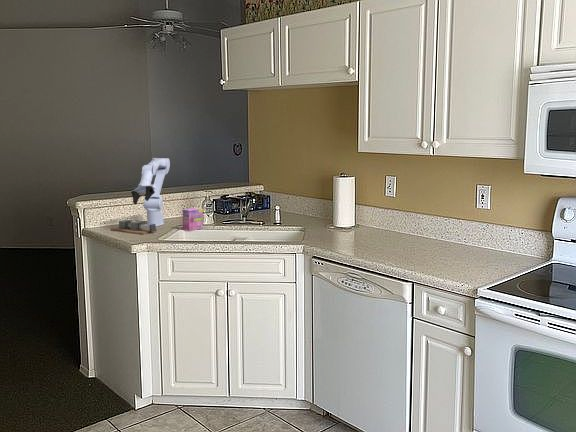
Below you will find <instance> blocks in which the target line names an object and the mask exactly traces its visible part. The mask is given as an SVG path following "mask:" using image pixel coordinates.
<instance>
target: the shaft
mask: <svg viewBox="0 0 576 432" xmlns="http://www.w3.org/2000/svg"><path fill="white" fill-rule="evenodd" d="M126 226H127V227H130V223H126ZM138 228H142V229H150V232H151V233H153V232H152V231H155V232H157V231H156V230H157V229H156V228H157V226H156V224H151V225H145V224H138Z"/></svg>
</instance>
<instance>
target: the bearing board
mask: <svg viewBox="0 0 576 432" xmlns="http://www.w3.org/2000/svg"><path fill="white" fill-rule="evenodd" d="M126 223H130V227H127V226H126ZM143 223H144V222H143V221H140V220H139V221H138V220H135V221H132V219H122V220H118V227H114V228H110V231H111V232H117V233H127V234H134V235H141V236H143V235H147V234H150V233H155V232H157V231H158V230H157V229H156V231H152V232H150V229H142V228H138V224H143ZM143 225H144V224H143Z"/></svg>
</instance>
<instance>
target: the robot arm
mask: <svg viewBox="0 0 576 432" xmlns="http://www.w3.org/2000/svg"><path fill="white" fill-rule="evenodd" d="M170 166H171V162H170V158H169V157H167V158H165V157H164V158H163V157H162V158H161V157H160V158H159V157H152V159H151V161H150V162H149V163H148V164H144V165H143V166H142V168H141V178H140V182H139V183H138V186H137V187H136V188H134V189H133V190H131V193H130V194H131V196H132V203H133V204H134V205H137V203H138V202H139V200H140V198H141V194H145V195H144V200H143V208H144V209H145V211H146V223H144V225H151V224H156V227H159V226H164V225H165V222H164V212H163V210H162V208H163V202H164V199H163V197H162V195H160V194H161V191H162V187H163V184H164V180H165V177H166V175H168V173H169V172H170ZM154 176H155V178H154V182H153V184H152V181H153V177H154Z"/></svg>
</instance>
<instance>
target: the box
mask: <svg viewBox="0 0 576 432" xmlns="http://www.w3.org/2000/svg"><path fill="white" fill-rule="evenodd" d="M203 212H204V208H202V207H197V206H196V207H189V208H183V209H182V230H183V231H185V232H186V231H187V232H192V231H198V230H202V229H203V227H204V226H203V225H204V224H203V222H204V213H203Z"/></svg>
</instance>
